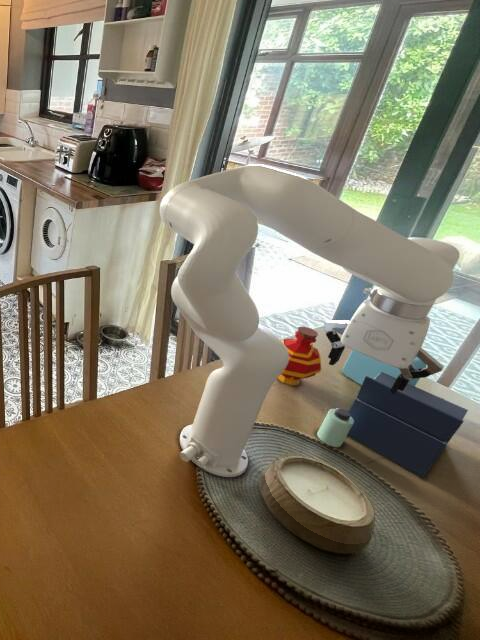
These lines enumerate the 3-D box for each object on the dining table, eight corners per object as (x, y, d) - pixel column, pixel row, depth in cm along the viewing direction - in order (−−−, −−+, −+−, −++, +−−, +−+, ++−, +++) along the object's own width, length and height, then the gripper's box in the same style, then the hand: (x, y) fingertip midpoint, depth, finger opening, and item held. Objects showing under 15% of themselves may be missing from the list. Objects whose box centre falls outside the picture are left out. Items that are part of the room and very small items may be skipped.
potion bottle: (320, 395, 102) (344, 346, 95) (274, 389, 104) (294, 341, 97) (298, 367, 111) (319, 321, 105) (256, 362, 113) (274, 316, 106)
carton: (422, 478, 81) (448, 441, 77) (338, 430, 92) (356, 396, 88) (443, 444, 89) (468, 410, 84) (362, 404, 99) (381, 371, 95)
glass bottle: (336, 450, 87) (352, 423, 84) (313, 436, 90) (327, 409, 87) (344, 441, 89) (359, 414, 86) (321, 428, 92) (335, 401, 89)
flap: (448, 441, 77) (447, 443, 77) (357, 396, 88) (356, 397, 87) (464, 420, 73) (463, 422, 73) (366, 375, 84) (365, 377, 83)
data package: (405, 401, 100) (429, 362, 95) (392, 405, 99) (416, 366, 94) (352, 369, 110) (371, 333, 105) (340, 372, 109) (358, 335, 104)
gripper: (333, 289, 80) (304, 359, 87) (463, 334, 67) (415, 411, 74) (349, 279, 84) (319, 347, 91) (474, 319, 70) (427, 394, 78)
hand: (362, 375), depth 82 cm, fingers open, 9 cm apart
